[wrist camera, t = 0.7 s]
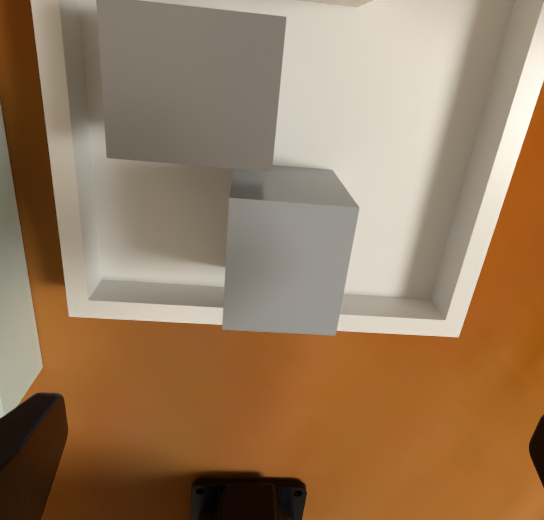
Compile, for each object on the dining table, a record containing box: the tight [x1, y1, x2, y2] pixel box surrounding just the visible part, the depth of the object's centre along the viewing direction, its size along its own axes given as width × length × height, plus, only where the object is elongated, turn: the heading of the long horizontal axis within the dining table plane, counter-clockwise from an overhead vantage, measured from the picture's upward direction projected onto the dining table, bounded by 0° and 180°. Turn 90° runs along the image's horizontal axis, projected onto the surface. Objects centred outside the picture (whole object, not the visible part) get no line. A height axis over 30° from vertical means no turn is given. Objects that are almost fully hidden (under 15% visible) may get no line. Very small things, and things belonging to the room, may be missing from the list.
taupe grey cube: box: [96, 0, 287, 172], centre depth 13 cm, size 4×4×5 cm
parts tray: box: [31, 0, 544, 337], centre depth 15 cm, size 18×16×2 cm
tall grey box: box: [222, 165, 359, 335], centre depth 16 cm, size 4×4×5 cm
